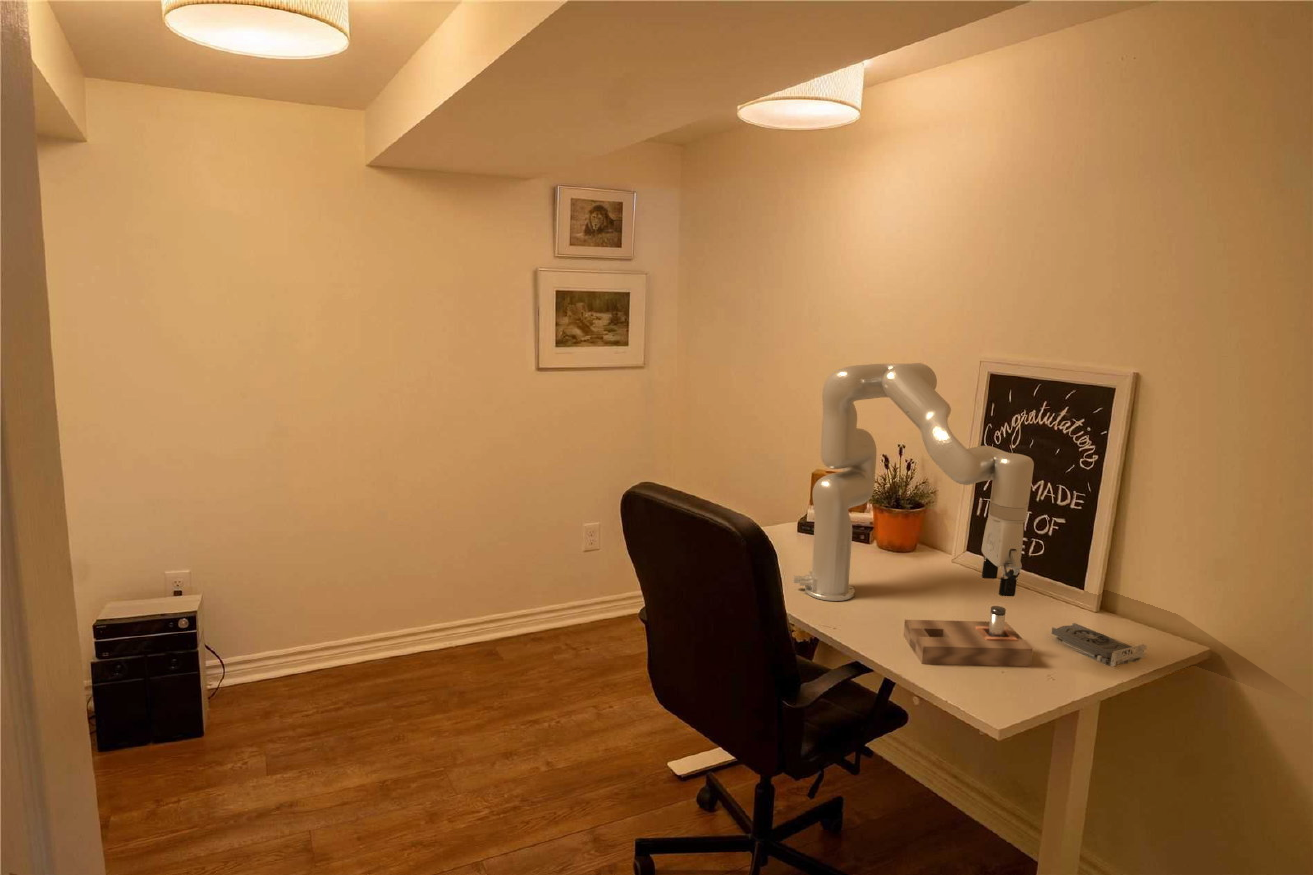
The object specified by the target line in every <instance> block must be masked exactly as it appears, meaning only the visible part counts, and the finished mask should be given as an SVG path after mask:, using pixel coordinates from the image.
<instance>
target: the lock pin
mask: <svg viewBox="0 0 1313 875" xmlns="http://www.w3.org/2000/svg"><path fill="white" fill-rule="evenodd" d="M1006 611H1007V610H1006V608H1005V607H1004V606H999V605H993V606H991V607H990V612H989V613H990V615H989V621H988V622H989V632H988V635H989V636H990V637H1003V632H1004V622H1006V621H1005V620H1006Z"/></svg>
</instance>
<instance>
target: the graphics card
mask: <svg viewBox="0 0 1313 875" xmlns="http://www.w3.org/2000/svg"><path fill="white" fill-rule="evenodd" d="M1051 634H1052V635H1054V636H1056V637H1058V639H1059V640H1061V643H1063V644H1065V645H1067V646H1069V647H1072V648H1074V649H1073V651H1074V652H1076V653H1078V654H1081V655H1082V656H1085V657H1087V658H1089V659H1092V660H1093V659H1094V660H1093V661H1095V660H1096V661H1095V662H1098V663H1100V664H1102V665H1104V664H1105V665H1104V666H1106V665H1107V666H1106V667H1110V666H1111V668H1113V669H1116V667H1115V666H1117V665H1120V664H1121V665H1126V664H1129V662H1137V661H1138V662H1139V661H1140V660H1141V659H1142V658H1145V657H1146V654H1147V653H1146V652H1144V651H1147V647H1148V645H1147V644H1146V645H1145V643H1143V644H1139V645H1136V646H1135V645H1134V646H1133V645H1129V644H1128V643H1124V642H1122V641H1120V640H1117V639H1115V638H1112V637H1111V636H1109V635H1105V634H1104V633H1102V632H1098V631H1096V630H1093V629H1090V628H1088V627H1087V626H1083V625H1081V624H1078V623H1076V622H1072V625H1061V626H1059V627H1057V628H1056V627H1053V626H1052V628H1051ZM1075 649H1076V650H1075ZM1077 650H1078V651H1077ZM1116 664H1117V665H1116Z"/></svg>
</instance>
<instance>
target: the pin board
mask: <svg viewBox="0 0 1313 875" xmlns="http://www.w3.org/2000/svg"><path fill="white" fill-rule="evenodd" d="M989 622H990V621H985V620H984V621H982V620H980V621H979V620H978V621H977V620H976V621H975V620H942V619H941V620H940V619H939V620H938V619H936V620H935V619H904V626H903V627H904V628H903V637H904V639H905V640H906V642H907V643H908V645H909V647H910V648H911V650H912V651H913V653H914V654H915V655H916V658H917V659H918V660H919V661H920V663H921V665H949V666H951V665H952V666H953V665H956V666H960V665H961V666H989V667H992V666H993V667H995V666H996V667H998V666H1002V667H1029V668H1031V666H1032V659H1033V658H1032V657H1033V648H1032V647H1031V646H1030V645H1029V643H1027V642H1026V640H1024V638H1022V636H1020V634H1019V633H1018V632H1017V631H1016V630H1015V629H1013V627H1012V626H1011V625H1009V623H1008V622H1007V621H1005V622H1004V632H1003V637H990V636H989V635H988V632H989Z"/></svg>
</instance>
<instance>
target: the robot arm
mask: <svg viewBox="0 0 1313 875" xmlns="http://www.w3.org/2000/svg"><path fill="white" fill-rule="evenodd" d="M937 384H938V379H937V375H936V372H935V371H934V370H933V368H931V367H930V366H928V365H926V364H924V363H921V362H914V363H913V362H912V363H911V362H910V363H873V364H872V363H871V364H858V365H857V364H856V365H850V366H845V367H842V368H839V369H838V370H835V371H833V372H832V373H831V374H829V376H828V377H827V378H826V380H825V382H824V384H823V387H822V396H821V398H822V423H821V434H820V437H821V438H820V459H821V462H822V463H823V465H824V466H825V467H827V468H829V469H832V470H841V469H842V471H838V472H833V473H829V474H826V475H824V476H822V477H821V478H819V479H817V481H816V482H815V484H814V485H813V488H812V495H811V496H812V503H813V511H814V512H813V513H814V514H813V515H814V526H813V546H812V547H813V548H812V563H811V564H812V565H811V571H809V572H808V574H805V576H803V575H793V577H792V578H793V579H792V581H793V582H792V583H793V584H799V586H801V587H803V586H804V592H805V593H806V594H807V595H809V596H810V597H813V598H815V599H818V600H823V601H829V602H831V601H832V602H840V601H842V602H843V601H848V600H850V599H852V598H853V597H854V596H855V592H856V591H855V589H854V587H853V586H851V585H850V574H851V573H850V571H851V570H850V569H851V559H852V557H851V556H852V542H853V541H852V539H853V524H852V519H851V516H850V512H849V509H851V508H854V507H855V508H856V507H858V506H861V505H864V504H866V503H868V502H869V501H870V499H871V498H872V496H873V494H874V491H875V490H874V489H875V481H876V469H877V468H876V467H877V454H878V453H877V452H878V451H877V444H876V441H875V439H874V437H873V435H872V434H871V433H870V432H869V431H868V430H866V429H864V428H858V426H857V425H858V413H857V412H858V411H857V409H856V406H855V404H854V402H856V401H857V402H858V401H865V400H873V399H879V398H880V399H881V398H882V399H883V398H888V399H890V400H891V401H892V402H893V403H894V404H895V405H896V406H897V407H898V408H899V409H900V410H901V411H902V413H903V414H904V415H905V416H906V417H907V418H908V419H909V420H910V422H912V423H913V425H915V427H917V428H918V429H919V430H918V431H920V433H921V438H922V441H923V444H924V447H925V449H926V452H927V453H928V456H929V457H930V458H931V460H932V461H933V462H934V463H935V464H936V465H937V466H938V467H939V468H940V469H941V471H942V473H944V474H945V475H946V476H947V477H948V478H950V479H951V480H952V481H953V482H955V483H956V484H960V485H964V486H966V485H967V486H968V485H969V486H971V485H973V484H976V483H980V482H985V481H992V484H991V493H990V498H989V499H990V500H989V506H988V514H987V515H988V517H987V520H986V523H985V528H984V534H983V538H982V545H981V553H982V554H983V557H982V558H983V564H982V570H981V571H982V572H981V578H982V579H985V580H986V579H987V580H996V579H997V578H998V572H999V568H1000V567H1001V573H1002V576H1001V577H1000V579H999V580H1000V581H999V589H998V595H999V596H1001V597H1015V596H1016V588H1017V581H1018V580H1019V577H1020V574H1021V569H1022V568H1023V566H1022V562H1021V559H1022V553H1023V541H1024V523H1026V522H1027V517H1028V509H1029V503H1030V497H1031V488H1032V482H1033V473H1034V469H1035V468H1034V466H1035V462H1034V460H1033V458H1031V457H1030V456H1027V455H1024V454H1020V453H1013V452H1007V451H1004V450H1002V449H999V448H997V447H994V446H990V445H980V446H979V445H978V446H974V447H970V448H966V446H964V445H963V444H962V442H960V441H959V439H958V438H956V436H955V435H954V434H953V433H952V431H951V429H950V426H949V423H948V418H949V417H950V415H951V411H952V407H951V405H950V403H948V402H947V401H946V399H945V398H943V397H942V395H941V394H940V393H938V391H936V388H937ZM1008 569H1009V570H1008Z"/></svg>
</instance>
